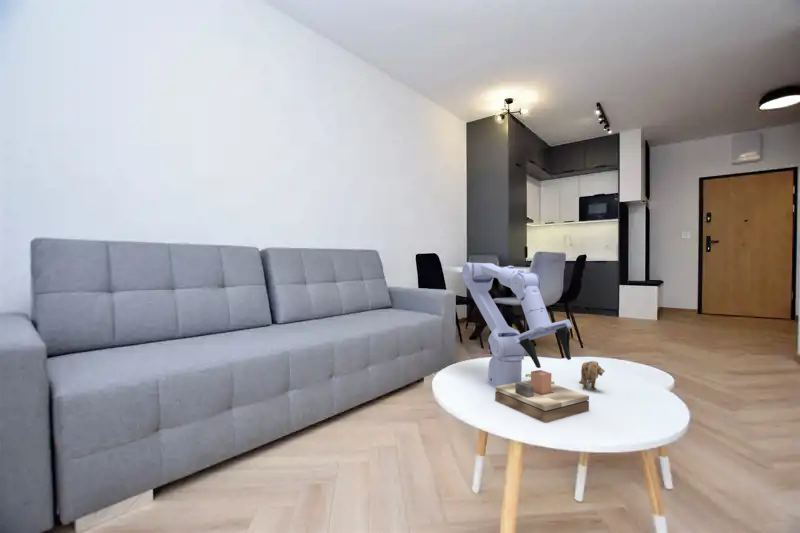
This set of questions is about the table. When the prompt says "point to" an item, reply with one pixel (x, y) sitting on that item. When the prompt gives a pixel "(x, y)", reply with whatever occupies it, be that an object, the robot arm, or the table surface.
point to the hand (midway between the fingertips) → (553, 363)
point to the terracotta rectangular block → (541, 382)
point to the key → (530, 376)
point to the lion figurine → (590, 373)
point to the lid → (544, 402)
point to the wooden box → (539, 413)
